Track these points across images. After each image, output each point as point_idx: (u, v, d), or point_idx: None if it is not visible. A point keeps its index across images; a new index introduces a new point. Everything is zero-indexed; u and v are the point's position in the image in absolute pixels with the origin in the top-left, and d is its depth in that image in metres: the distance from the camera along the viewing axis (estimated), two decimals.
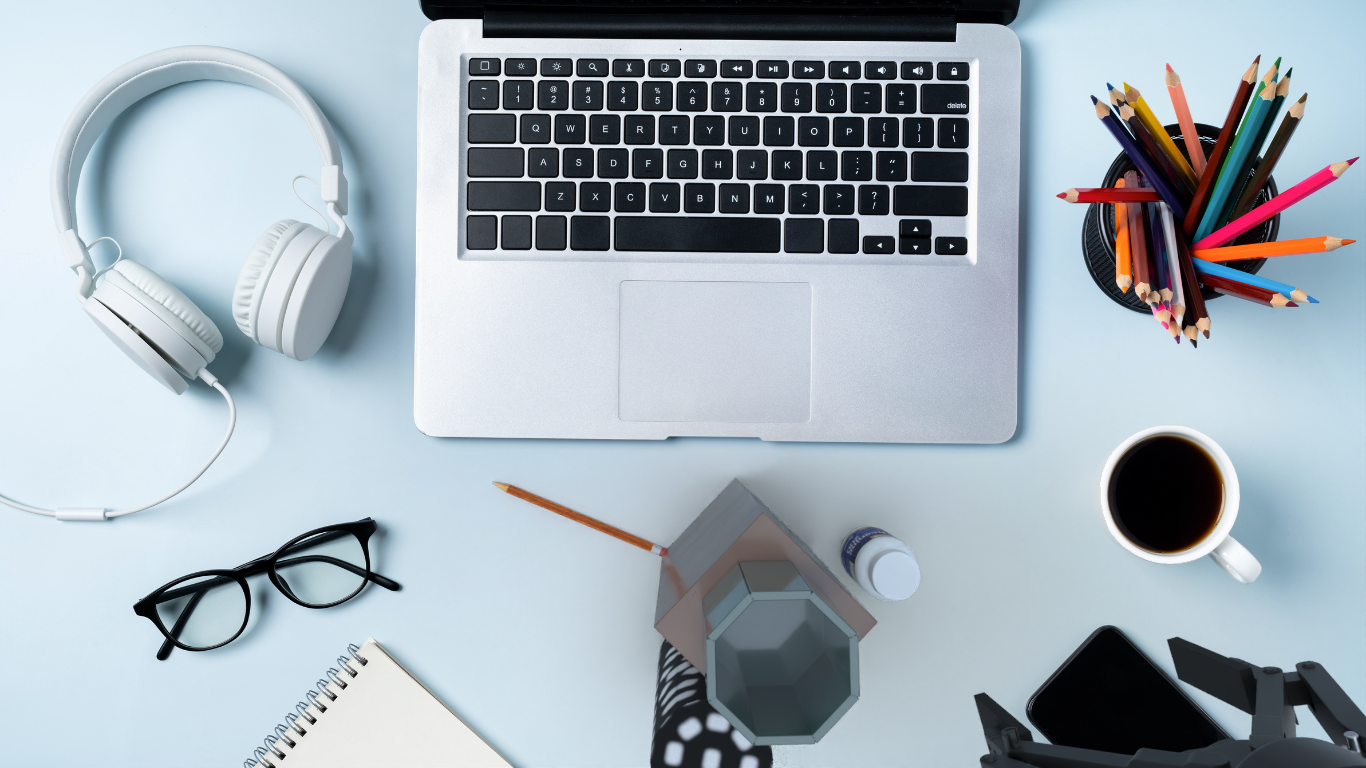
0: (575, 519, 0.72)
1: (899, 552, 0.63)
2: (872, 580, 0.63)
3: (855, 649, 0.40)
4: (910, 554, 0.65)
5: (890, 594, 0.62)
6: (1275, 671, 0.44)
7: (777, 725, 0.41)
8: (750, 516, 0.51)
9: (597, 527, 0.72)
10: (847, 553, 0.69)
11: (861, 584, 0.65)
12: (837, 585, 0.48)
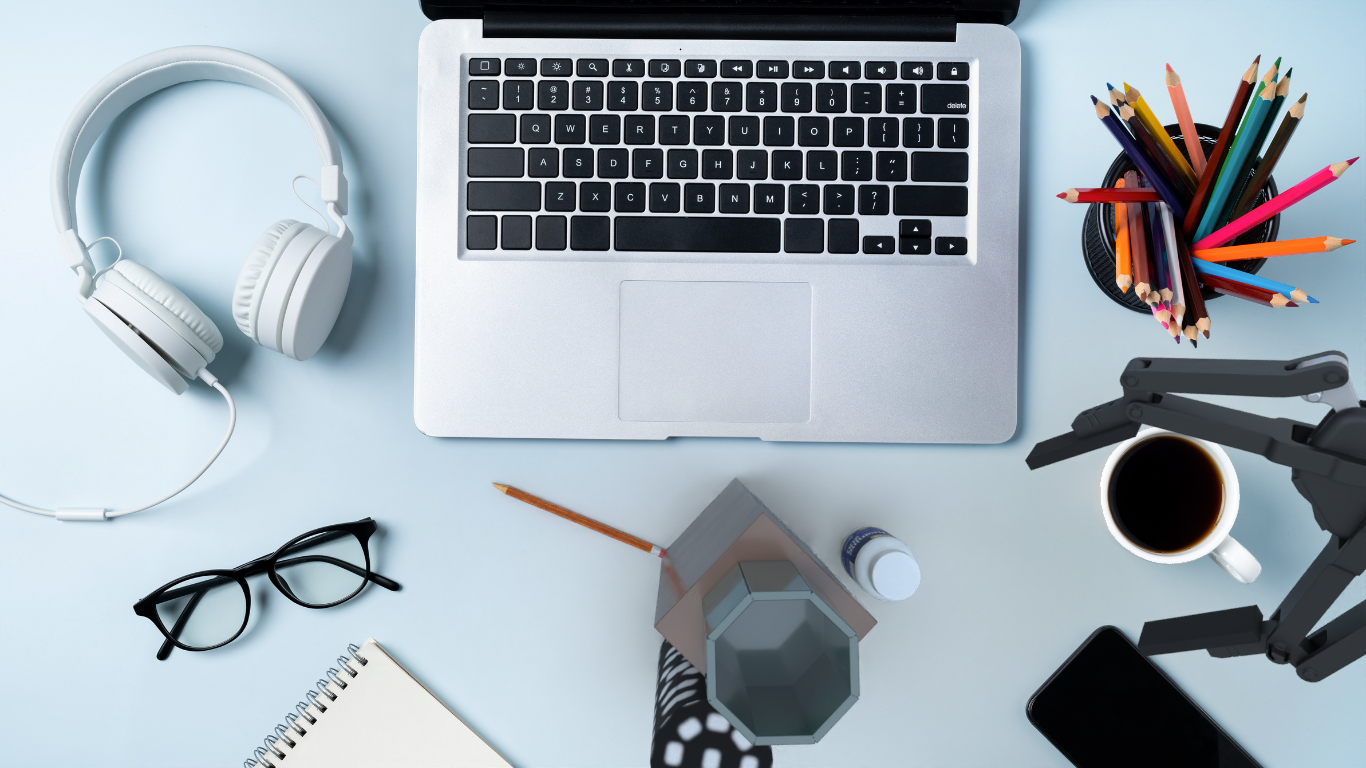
0: (574, 520, 0.72)
1: (899, 552, 0.63)
2: (872, 580, 0.63)
3: (855, 649, 0.40)
4: (910, 554, 0.65)
5: (890, 595, 0.62)
6: None
7: (777, 725, 0.41)
8: (750, 516, 0.51)
9: (596, 528, 0.72)
10: (847, 553, 0.69)
11: (861, 584, 0.65)
12: (837, 585, 0.48)
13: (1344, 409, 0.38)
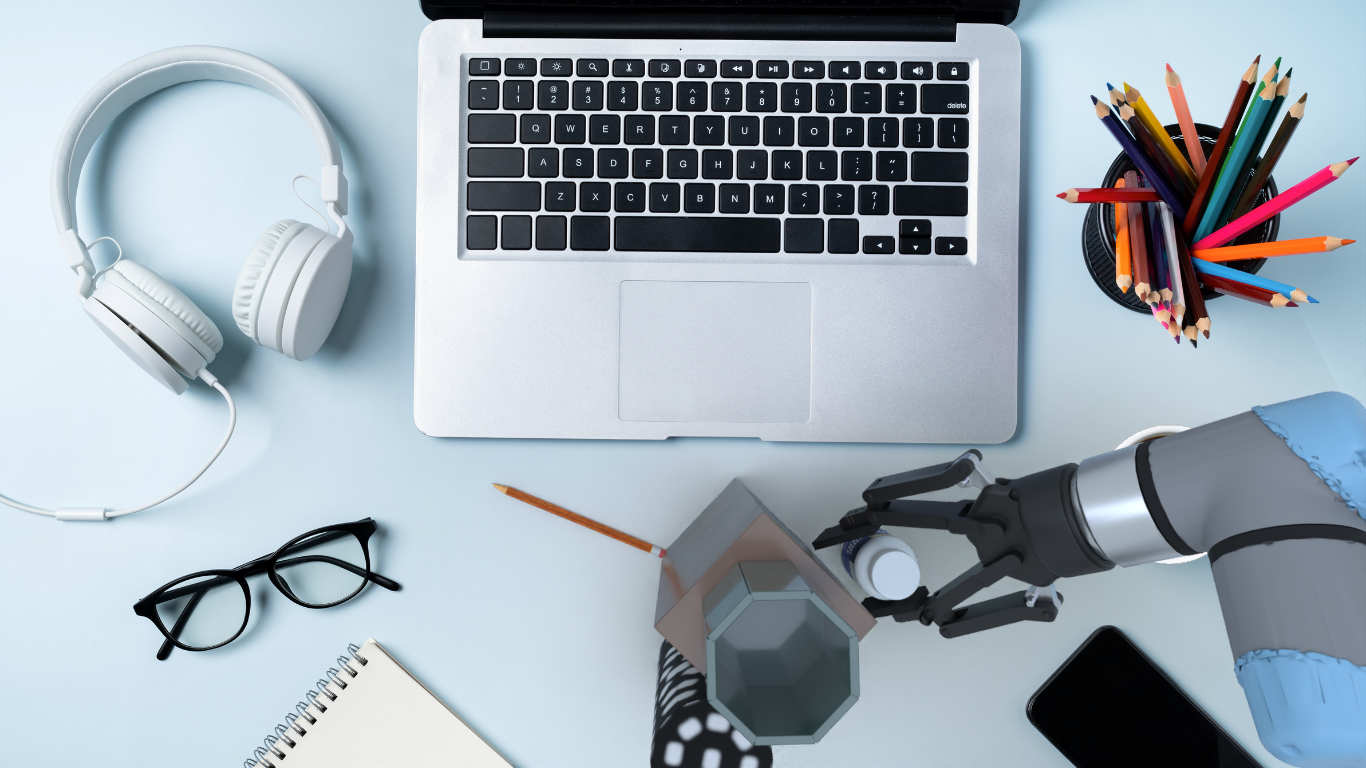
0: (574, 521, 0.72)
1: (898, 551, 0.63)
2: (872, 579, 0.63)
3: (855, 649, 0.40)
4: (910, 553, 0.65)
5: (890, 594, 0.62)
6: None
7: (777, 725, 0.41)
8: (750, 516, 0.51)
9: (596, 529, 0.72)
10: (847, 553, 0.69)
11: (861, 584, 0.65)
12: (837, 585, 0.48)
13: (988, 485, 0.56)
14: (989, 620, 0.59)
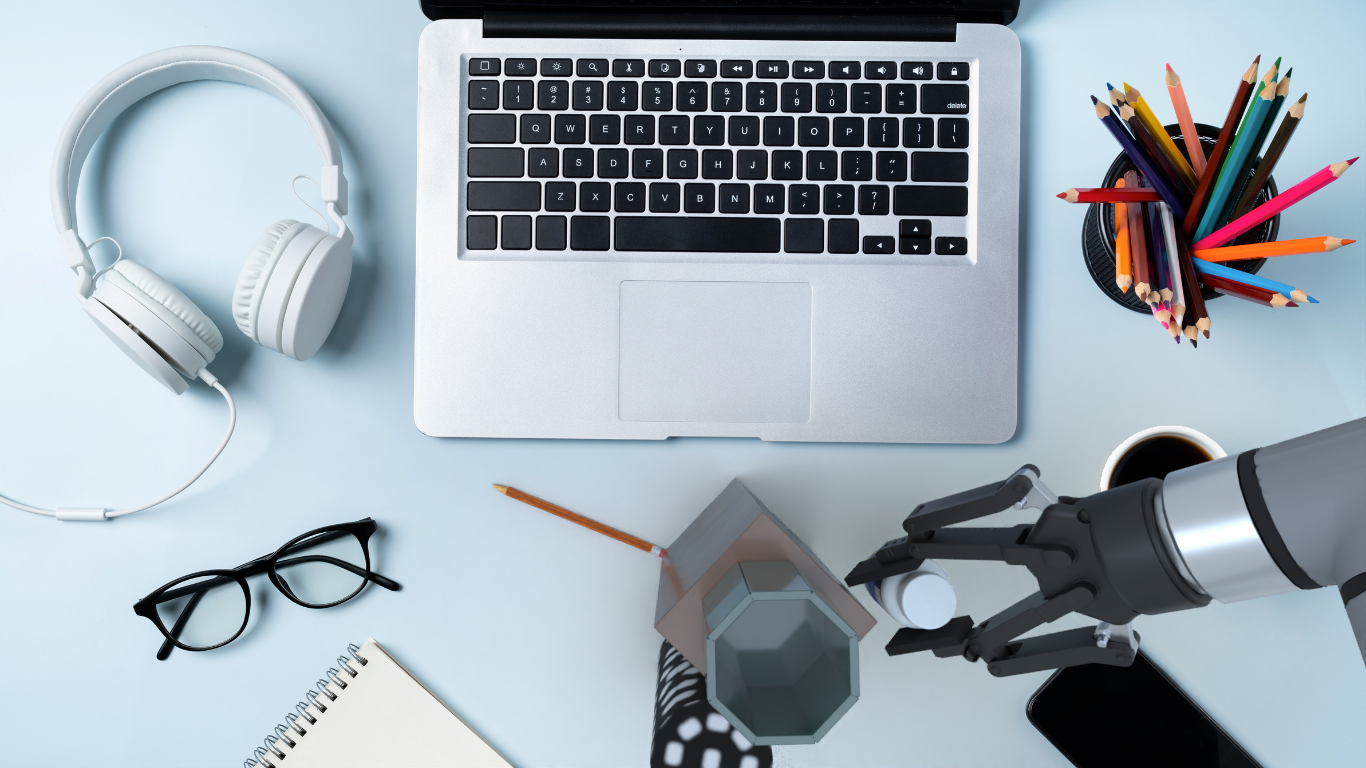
0: (574, 521, 0.72)
1: (930, 574, 0.56)
2: (902, 608, 0.56)
3: (855, 649, 0.40)
4: (942, 575, 0.58)
5: (924, 623, 0.55)
6: None
7: (777, 725, 0.41)
8: (750, 516, 0.51)
9: (596, 529, 0.72)
10: None
11: (890, 612, 0.58)
12: (837, 585, 0.48)
13: (1051, 504, 0.48)
14: (1050, 659, 0.51)
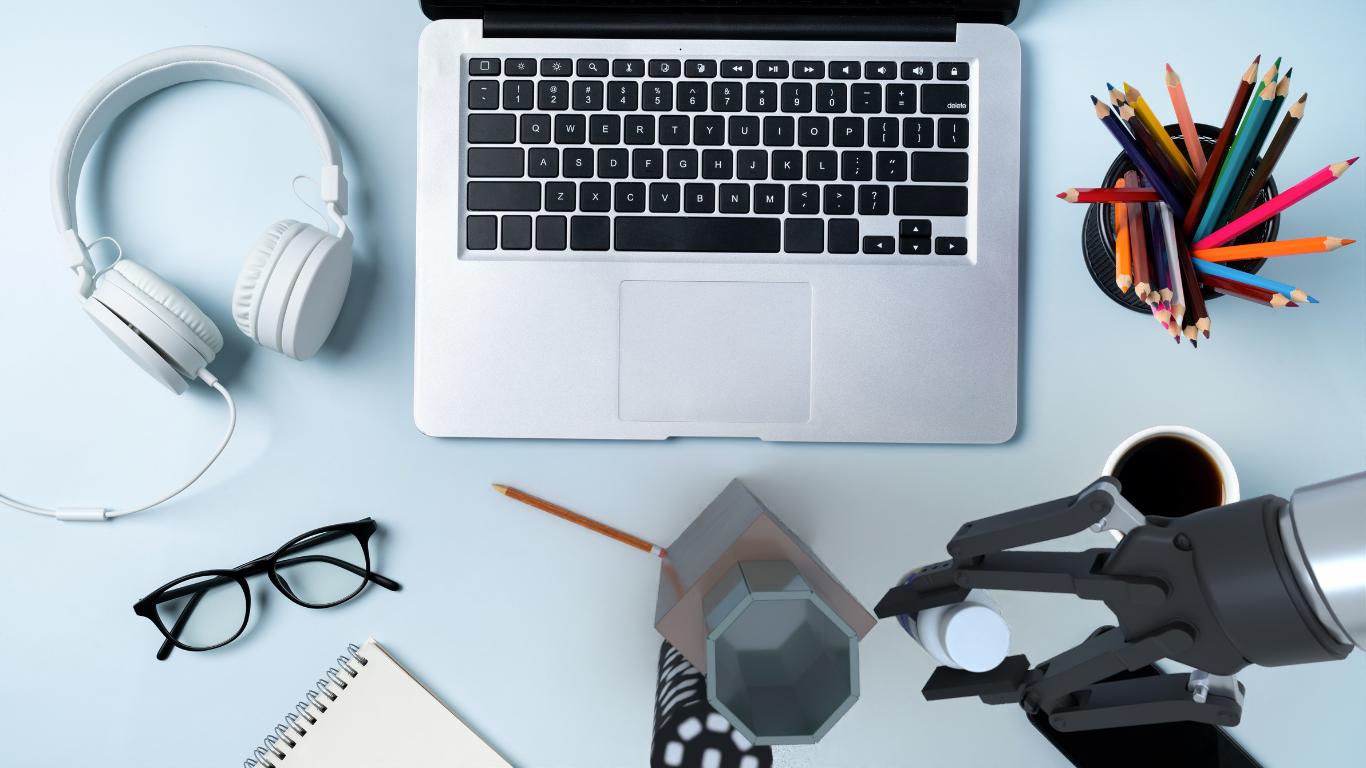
0: (574, 521, 0.72)
1: (978, 606, 0.47)
2: (945, 646, 0.47)
3: (855, 649, 0.40)
4: (991, 605, 0.49)
5: (972, 664, 0.46)
6: None
7: (777, 725, 0.41)
8: (750, 516, 0.51)
9: (596, 529, 0.72)
10: None
11: (928, 649, 0.49)
12: (837, 585, 0.48)
13: (1138, 527, 0.39)
14: (1130, 713, 0.42)
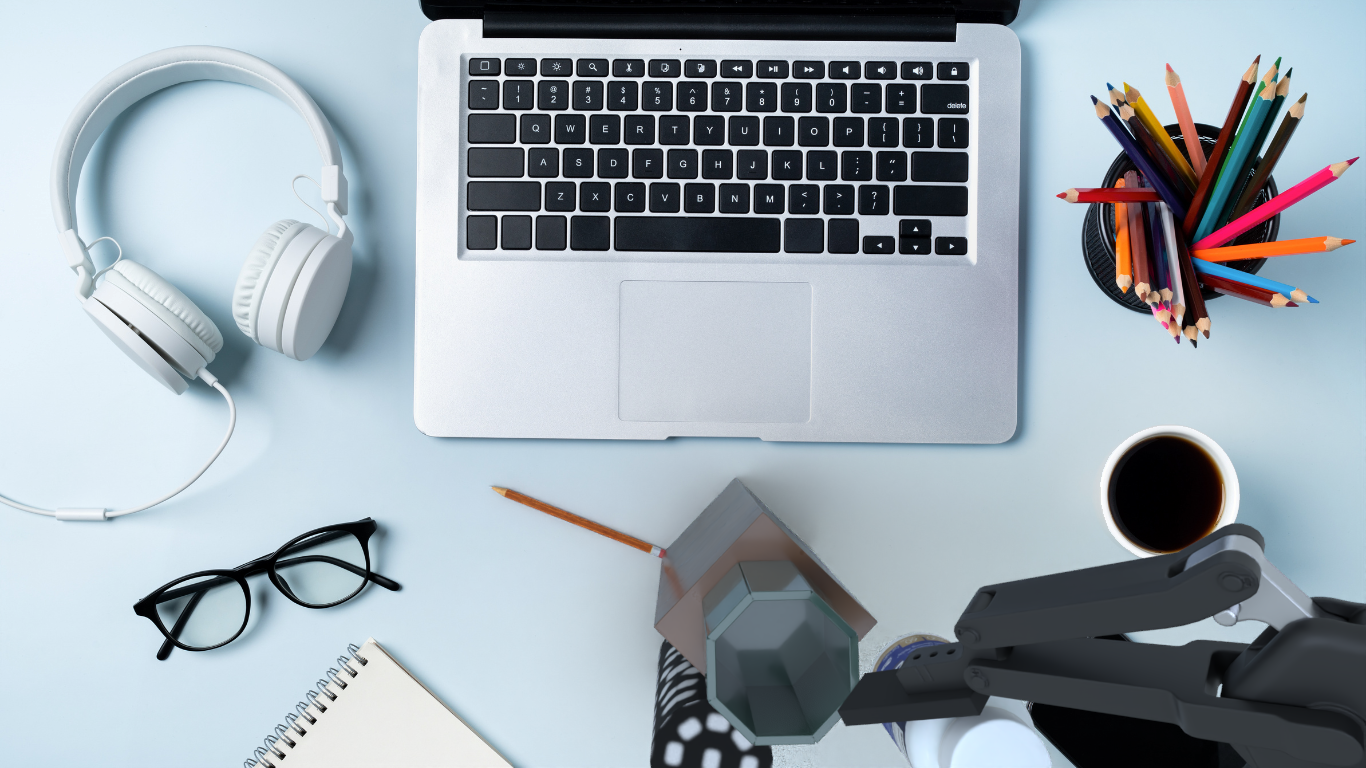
0: (573, 522, 0.72)
1: (1003, 719, 0.29)
2: None
3: (855, 649, 0.40)
4: (1019, 711, 0.31)
5: None
6: None
7: (777, 725, 0.41)
8: (750, 516, 0.51)
9: (596, 530, 0.72)
10: None
11: None
12: (837, 585, 0.48)
13: (1307, 620, 0.21)
14: None
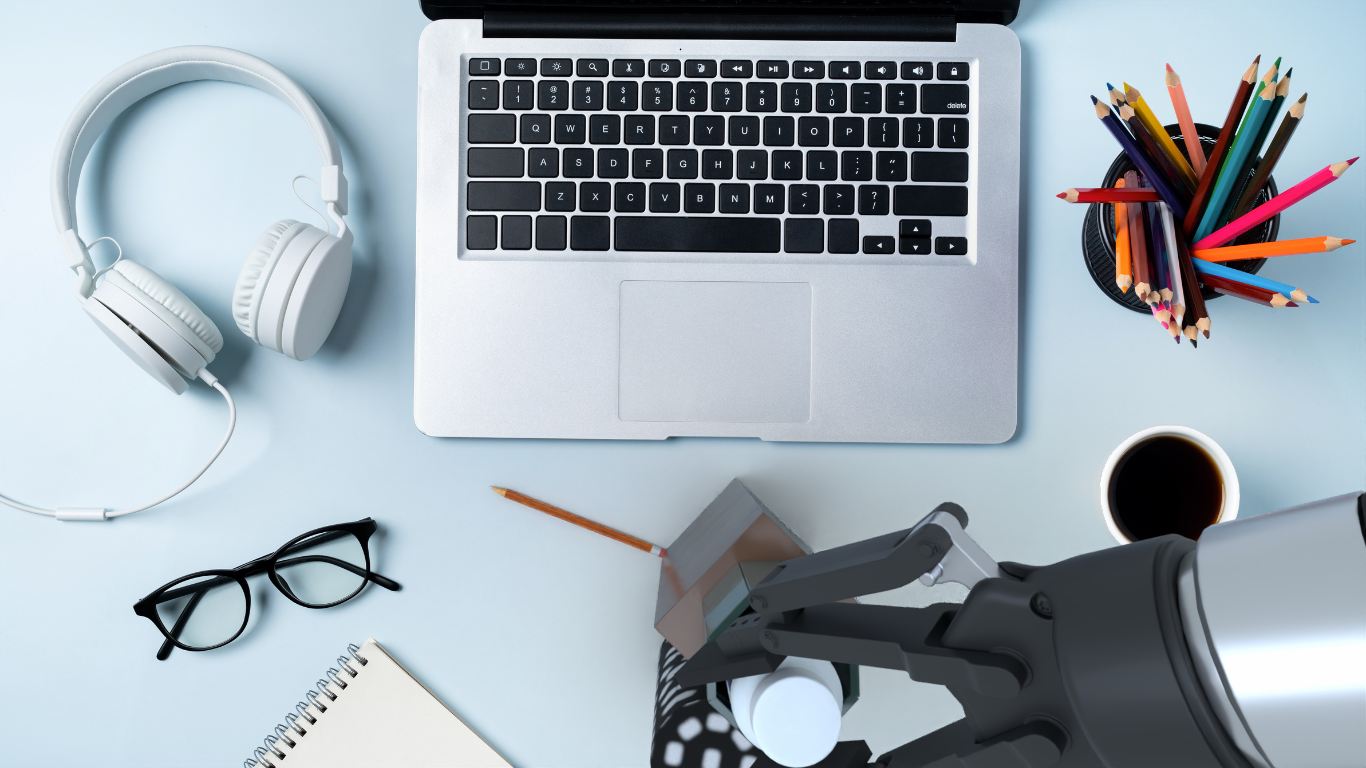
0: (573, 522, 0.72)
1: (799, 676, 0.34)
2: (754, 732, 0.34)
3: None
4: (825, 671, 0.36)
5: (788, 758, 0.34)
6: None
7: None
8: (750, 516, 0.51)
9: (596, 530, 0.72)
10: None
11: (742, 731, 0.36)
12: None
13: (985, 579, 0.26)
14: None
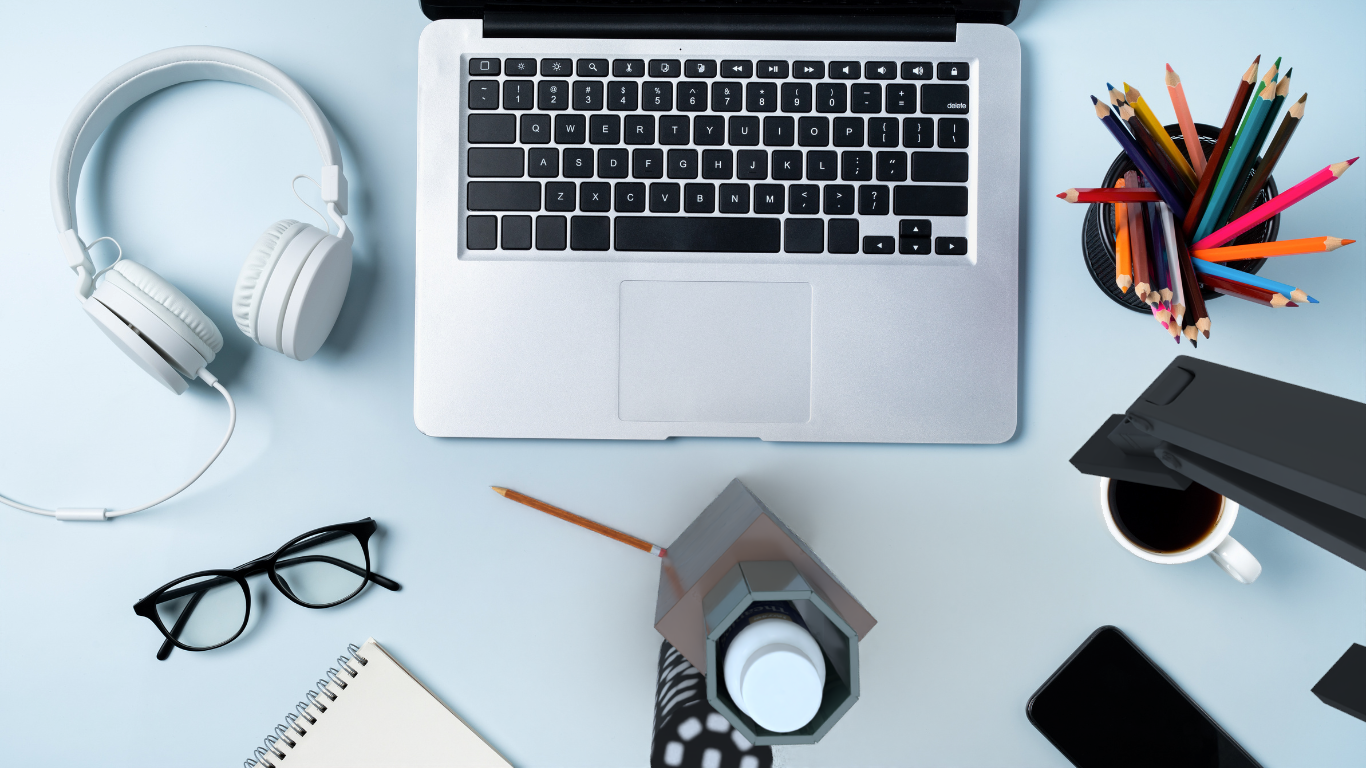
0: (573, 522, 0.72)
1: (784, 651, 0.38)
2: (743, 700, 0.38)
3: (855, 649, 0.40)
4: (809, 647, 0.40)
5: (774, 723, 0.38)
6: None
7: None
8: (750, 516, 0.51)
9: (596, 529, 0.72)
10: (721, 642, 0.44)
11: (734, 700, 0.40)
12: (837, 585, 0.48)
13: None
14: None
